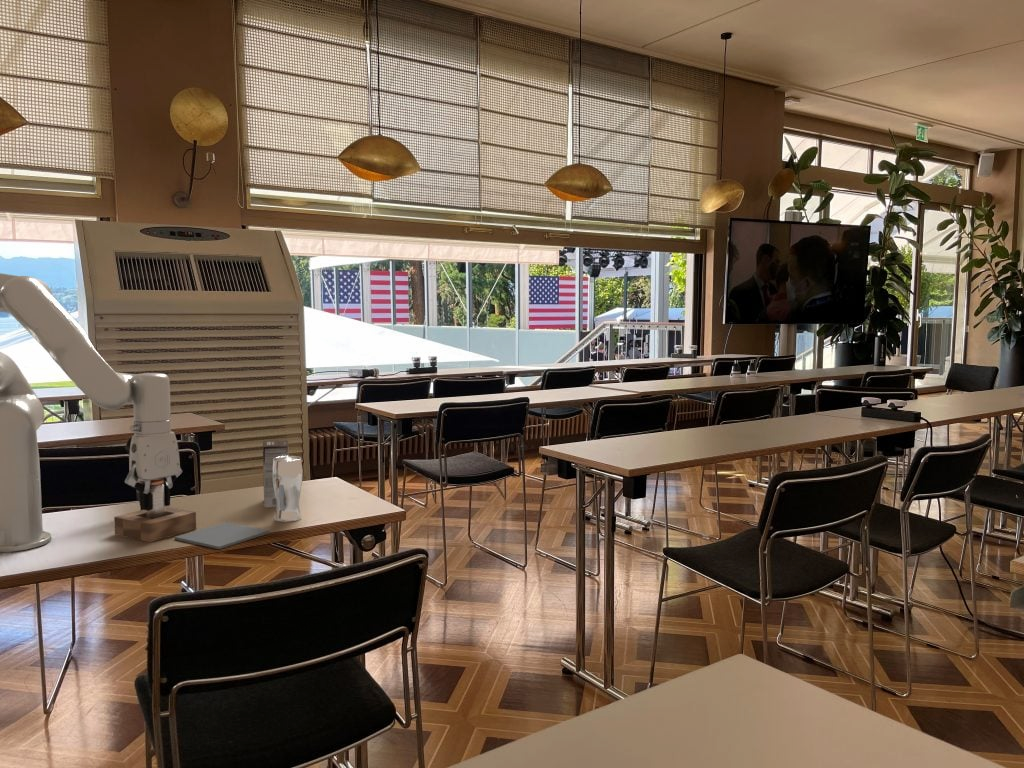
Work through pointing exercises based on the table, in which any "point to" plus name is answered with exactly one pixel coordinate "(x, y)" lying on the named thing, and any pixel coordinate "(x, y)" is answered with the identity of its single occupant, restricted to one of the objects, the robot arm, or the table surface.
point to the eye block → (155, 524)
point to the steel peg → (157, 499)
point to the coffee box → (271, 468)
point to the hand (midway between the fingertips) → (155, 506)
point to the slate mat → (222, 535)
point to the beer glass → (287, 487)
